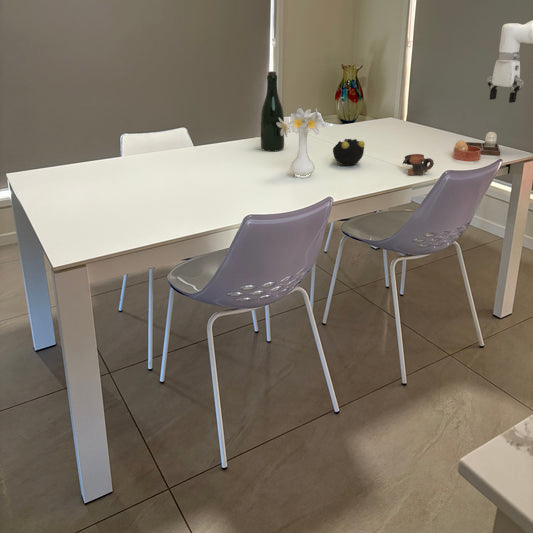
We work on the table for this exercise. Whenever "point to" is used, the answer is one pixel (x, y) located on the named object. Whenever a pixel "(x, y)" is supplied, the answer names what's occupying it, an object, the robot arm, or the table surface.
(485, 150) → the egg holder
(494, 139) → the egg
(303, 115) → the flower vase
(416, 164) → the pottery mug
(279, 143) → the wine bottle
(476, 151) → the bowl
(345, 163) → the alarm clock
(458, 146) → the egg
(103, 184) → the table surface
